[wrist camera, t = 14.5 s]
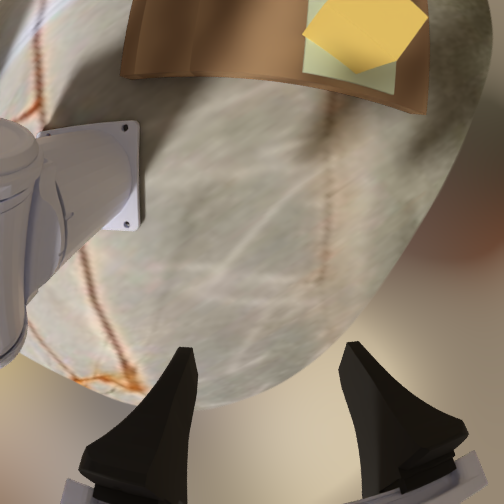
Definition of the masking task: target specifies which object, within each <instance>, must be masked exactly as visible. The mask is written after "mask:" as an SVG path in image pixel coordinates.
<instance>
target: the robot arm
mask: <svg viewBox="0 0 504 504" xmlns="http://www.w3.org/2000/svg"><path fill="white" fill-rule="evenodd" d="M125 124H127V125H128V130H127V131H125V130H124V125H125ZM49 134H50V135H51V136H49ZM139 137H140V124H139V123H138V122H137V121H135V120H129V121H115V122H104V123H94V124H86V125H78V126H71V127H64V128H58V129H52V130H47V131H42V132H39V133H38V134H37V136H36V139H35V138H34V136H33V134H32V133H31V132H30V131H29V130H28V129H27V128H25V127H24V126H22V125H20V124H18V123H15V122H13V121H10V120H7V119H3V118H0V369H1V368H3V367H4V366H6V365H7V364H9V363H10V362H11V361H12V360H13V359H14V358H15V357H16V356H17V355H18V353H19V352H20V350H21V348H22V346H23V344H24V342H25V339H26V335H27V329H28V319H27V312H26V306H25V305H27V304H28V303H29V302H30V301H31V300H32V299H33V298H34V296H35V295H36V294H37V293H38V288H40V287H41V286H42V285H43V284H45V283H46V282H47V281H48V280H49V279H50V278H51V277H52V276H53V275H54V274H55V273H56V272H57V271H58V270H59V269H60V268H61V267H62V266H63V265H64V264H65V263H66V262H67V261H68V260H69V259H70V258H71V257H72V256H73V255H74V254H75V253H76V252H77V251H78V250H79V249H80V248H81V247H82V246H83V245H84V244H85V243H86V242H87V241H89V240H90V239H91V238H92V237H93V236H94V235H95V234H96V233H97V232H98V231H100V230H101V229H105V230H123V231H136V230H138V229H139V227H140V224H141V223H140V201H139ZM126 221H127V222H129V224H130V226H127V225H126V223H125V222H126ZM338 370H339V376H340V382H341V387H342V390H343V393H344V396H345V399H346V402H347V405H348V408H349V411H350V414H351V417H352V420H353V424H354V427H355V431H356V437H357V442H358V448H359V456H360V464H361V476H362V498H363V499H361V500H357V501H354V502H349V503H345V504H460V503H461V502H463V501H465V500H466V499H468V498H469V497H471V496H472V495H474V494H475V493H477V492H478V491H480V490H481V489H483V488H484V487H486V486H487V485H488V482H487V479H486V477H485V474H484V472H483V469H482V466H481V464H480V462H479V459H478V457H477V454H476V452H475V450H473V451H471V452H469V453H468V454H466V455H464V456H462V457H460V458H459V459H457V460H456V461H454V460H453V457H454V456H455V453H454V449H455V448H456V447H458V446H459V445H460V444H461V443H462V442H463V441H464V440H465V439H466V438H467V437H468V435H469V433H468V431H467V429H466V427H465V424H464V422H463V421H462V420H460V419H458V418H455V417H453V416H450V415H448V414H446V413H443V412H441V411H439V410H437V409H436V408H433V407H432V406H430V405H429V404H427V403H425V402H424V401H422V400H421V399H419V398H418V397H416V396H415V395H413V394H412V393H411V392H409V391H408V390H407V389H406V388H404V387H403V386H402V385H401V384H400V383H399V382H397V381H396V380H395V379H394V378H393V377H392V376H391V375H390V374H389V373H388V372H387V371H386V370H385V369H384V368H383V367H382V366H381V365H380V364H379V363H378V362H377V361H376V360H375V359H374V357H373V356H372V355H371V354H370V353H369V352H368V351H367V350H366V349H365V348H364V347H363V345H361V343H360V342H359V341H355V342H347V344H346V347H345V350H344V354H343V357H342V360H341V363H340V366H339V369H338ZM197 384H198V372H197V368H196V363H195V358H194V353H193V348H189V347H179V348H178V349H177V351H176V353H175V354H174V356H173V358H172V360H171V361H170V363H169V365H168V366H167V368H166V369H165V371H164V372H163V374H162V375H161V377H160V378H159V380H158V381H157V383H156V384H155V385H154V387H153V388H152V389H151V391H150V392H149V393H148V395H147V396H146V397H145V398H144V399H143V400H142V402H141V403H140V404H139V405H138V406H137V407H136V408H135V409H134V410H133V411H132V412H131V413H130V414H129V415H128V416H127V417H126V418H125V419H124V420H123V421H122V422H121V423H119V424H118V425H117V426H116V427H114V428H113V429H112V430H111V431H109V432H108V433H107V434H105V435H104V436H102V437H101V438H99V439H98V440H96V441H95V442H93V443H91V444H90V445H88V446H87V447H86V449H85V451H84V453H83V455H82V459H81V462H80V465H79V469H78V470H79V471H80V473H81V474H82V475H83V476H85V477H86V478H88V479H89V480H90V481H92V482H93V483H95V487H94V488H92V487H90V486H87V485H84V484H82V483H79V482H77V481H74V480H71V479H69V478H68V479H67V480H66V483H65V488H64V491H63V495H62V499H61V503H60V504H187V458H188V440H189V432H190V427H191V422H192V416H193V411H194V406H195V401H196V395H197Z"/></svg>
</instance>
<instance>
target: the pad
mask: <svg viewBox="0 0 504 504" xmlns="http://www.w3.org/2000/svg"><path fill="white" fill-rule="evenodd" d="M327 1H328V0H308V12H307V25H306V28H307V27H308V25H309V24H310V22H311V21H312V20H313V18H314V17H315V16H316V14H317V13H318V12H319V10H320V9H321V8H322V6H323V5H324V4H325V3H326V2H327ZM302 72H303V73H309V74H314V75H319V76H324V77H328V78H333V79H337V80H342V81H346V82H350V83H353V84H357V85H361V86H364V87H368V88H371V89H375V90H378V91H381V92H384V93H387V94H390V95H394V88H395V75H396V61H395V62H391V63H388V64H385V65H382V66H379V67H376V68H373V69H370V70H367V71H364V72H361V73H358V74H355V73H354V72H353V71H351V70H350V69H349V68H348V67H346V66H345V65H344V64H343V63H341V62H340V61H339V60H337V59H336V58H335V57H333V56H332V55H331V54H329V53H328V52H327V51H325V50H324V49H322V48H321V47H320V46H318V45H317V44H315V43H314V42H312V41H311V40H309V39H308V38H306V37H305V48H304V59H303V69H302Z"/></svg>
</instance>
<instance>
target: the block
mask: <svg viewBox="0 0 504 504" xmlns="http://www.w3.org/2000/svg"><path fill="white" fill-rule="evenodd" d="M427 18H428V16H427V15H426V14H425V13H424V12H423V11H422V10H420V9H419V8H418V7H417V6H416V5H415V4H414V3H413V2H412V1H411V0H328V1H327V2H326V3H325V4H324V5H323V6H322V8H321V9H320V10H319V12H318V13H317V14H316V16H315V17H314V18H313V20H312V21H311V22H310V24H309V25H308V27H307V28H306V29H305V31H304V32H303V34H302V35H303V36H305V37H306V38H308V39H309V40H311V41H312V42H314V43H315V44H317V45H318V46H320V47H321V48H322V49H324V50H325V51H327V52H328V53H329V54H331V55H332V56H333V57H335V58H336V59H337V60H339V61H340V62H341V63H343V64H344V65H345V66H346V67H348V68H349V69H350V70H351V71H353V72H354V73H355V74H358V73H361V72H364V71H367V70H370V69H373V68H376V67H379V66H382V65H385V64H388V63H391V62H395V61H397V60H398V58H399V57H400V56H401V54H402V53H403V52H404V50H405V49H406V47H407V46H408V45H409V43H410V42H411V41H412V39H413V38H414V36H415V35H416V34H417V32H418V31H419V29H420V28H421V27H422V25H423V24H424V23H425V21H426V20H427Z"/></svg>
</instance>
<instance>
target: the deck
mask: <svg viewBox="0 0 504 504" xmlns="http://www.w3.org/2000/svg"><path fill="white" fill-rule="evenodd" d="M411 1H412V2H413V3H414V4H415V5H416V6H417V7H418V8H419V9H420V10H422V11H423V12H424V13H425V14H426V15H427V16H428V4H427V0H411ZM307 12H308V0H133V2H132V6H131V11H130V15H129V20H128V25H127V30H126V36H125V42H124V48H123V55H122V62H121V70H120V76H121V77H124V78H128V79H131V80H134V79H145V78H159V77H189V76H201V77H231V78H246V79H257V80H267V81H275V82H283V83H290V84H297V85H303V86H308V87H314V88H319V89H324V90H329V91H334V92H338V93H342V94H347V95H351V96H355V97H358V98H362V99H366V100H369V101H373V102H376V103H380V104H383V105H386V106H389V107H393V108H396V109H399V110H402V111H404V112H407V113H410V114H422V115H426V111H427V101H428V87H429V64H430V38H429V17H428V18H427V20H426V21H425V23H424V24H423V25H422V27H421V28H420V29H419V31H418V32H417V34H416V35H415V36H414V38H413V39H412V41H411V42H410V43H409V45H408V46H407V47H406V49H405V50H404V52H403V53H402V54H401V56H400V57H399V58H398V60H397V61H396V75H395V88H394V95H390V94H387V93H384V92H381V91H378V90H375V89H371V88H368V87H364V86H361V85H357V84H353V83H350V82H346V81H342V80H337V79H333V78H328V77H324V76H319V75H314V74H309V73H303V72H302V69H303V59H304V48H305V36H303V35H302V34H303V32H304V31H305V29H306V25H307Z"/></svg>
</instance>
